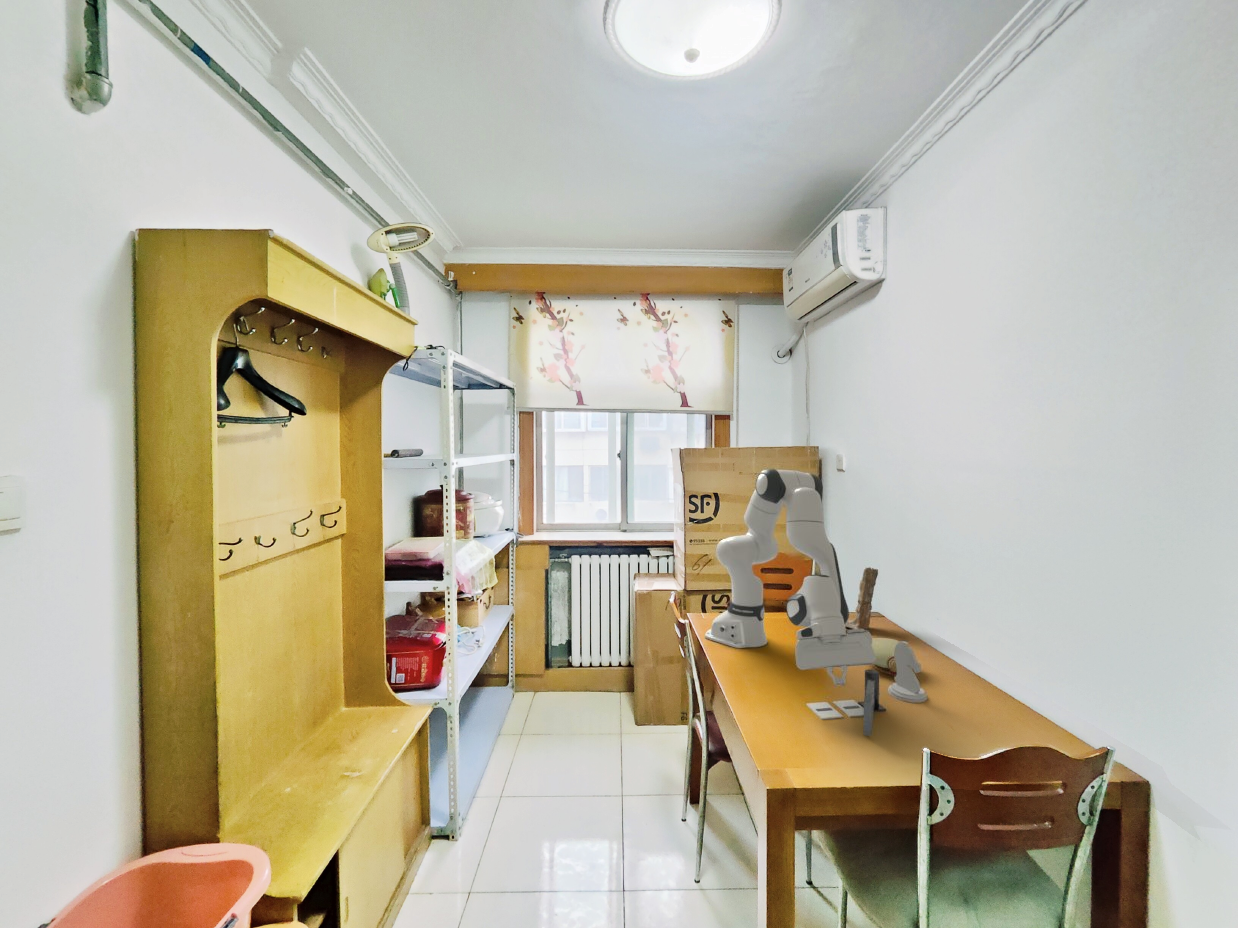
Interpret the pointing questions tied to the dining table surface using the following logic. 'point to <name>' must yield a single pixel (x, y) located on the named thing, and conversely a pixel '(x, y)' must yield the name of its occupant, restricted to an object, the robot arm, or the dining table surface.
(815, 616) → the robot arm
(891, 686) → the chess piece
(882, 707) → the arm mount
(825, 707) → the label plate
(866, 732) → the grey panel stand
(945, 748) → the dining table surface
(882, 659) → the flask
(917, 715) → the dining table surface
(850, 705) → the label plate
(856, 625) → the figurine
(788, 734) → the dining table surface
